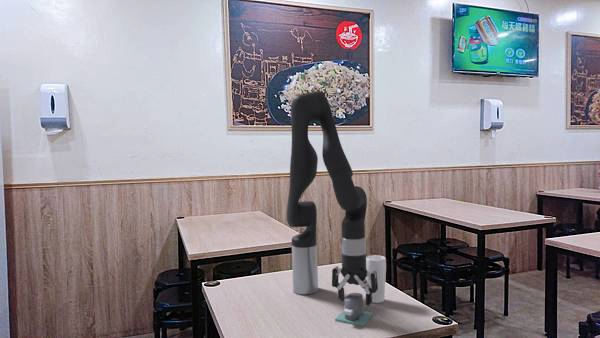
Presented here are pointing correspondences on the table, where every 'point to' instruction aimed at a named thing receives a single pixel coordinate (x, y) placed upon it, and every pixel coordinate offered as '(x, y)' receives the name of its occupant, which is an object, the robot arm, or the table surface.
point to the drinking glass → (379, 266)
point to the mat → (360, 322)
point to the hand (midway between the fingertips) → (354, 302)
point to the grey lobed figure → (353, 306)
